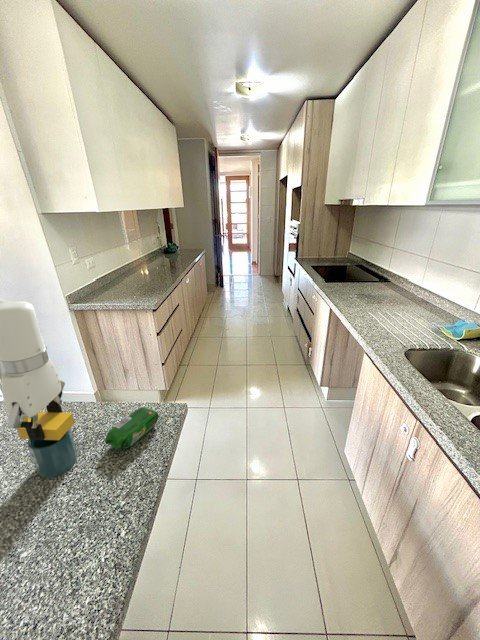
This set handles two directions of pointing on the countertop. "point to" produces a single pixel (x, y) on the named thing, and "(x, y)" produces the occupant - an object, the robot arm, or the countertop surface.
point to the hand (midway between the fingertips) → (47, 428)
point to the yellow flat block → (51, 425)
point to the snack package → (131, 428)
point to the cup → (53, 455)
